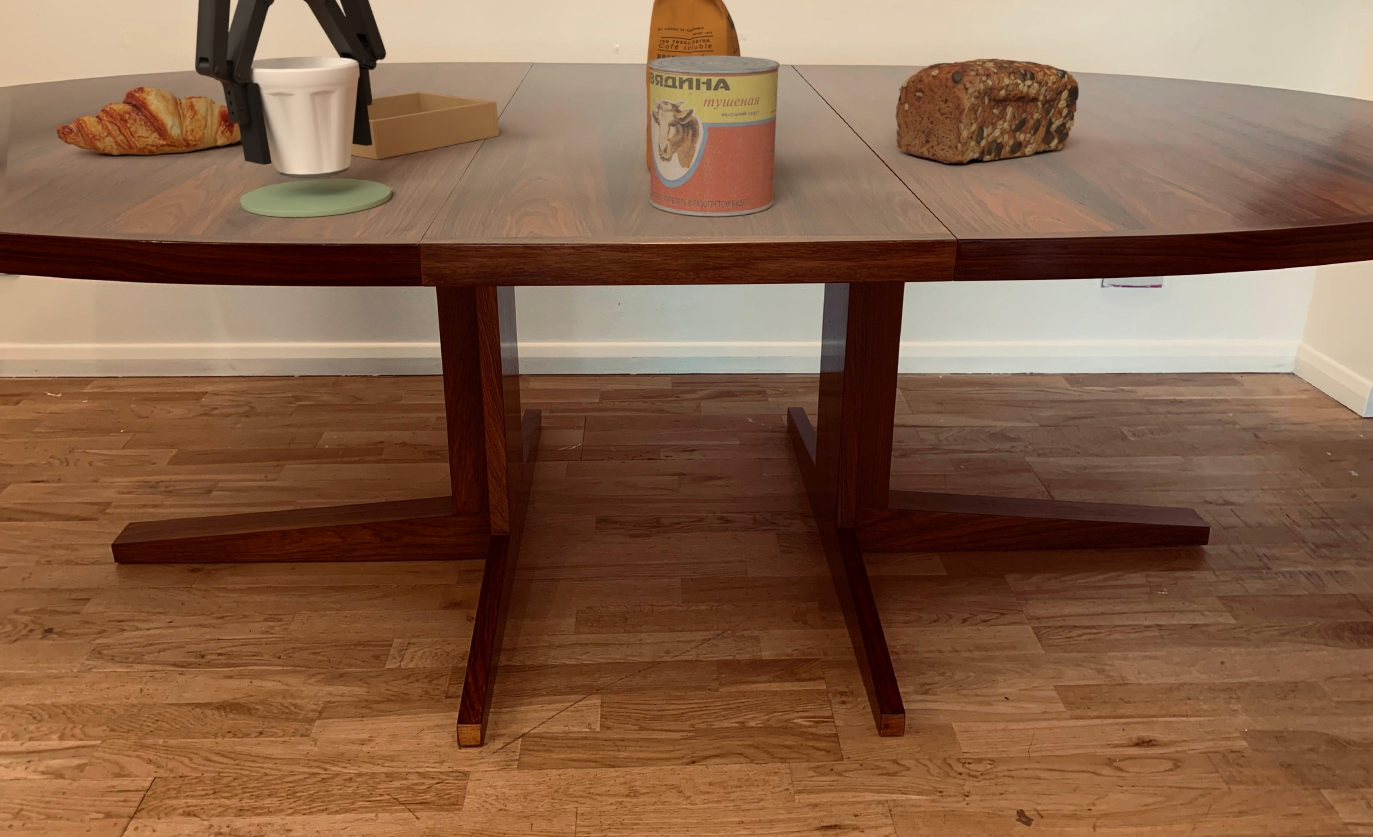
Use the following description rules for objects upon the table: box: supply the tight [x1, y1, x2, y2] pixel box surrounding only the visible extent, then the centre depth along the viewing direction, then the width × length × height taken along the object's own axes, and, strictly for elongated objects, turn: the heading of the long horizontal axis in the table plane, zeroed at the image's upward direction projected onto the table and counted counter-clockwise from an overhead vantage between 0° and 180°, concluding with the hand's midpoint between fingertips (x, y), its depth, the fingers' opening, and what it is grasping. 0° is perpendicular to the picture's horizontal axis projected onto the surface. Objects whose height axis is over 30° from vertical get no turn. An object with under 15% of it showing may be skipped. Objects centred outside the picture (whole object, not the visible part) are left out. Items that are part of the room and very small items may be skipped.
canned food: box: [648, 56, 780, 217], centre depth 90 cm, size 11×11×12 cm
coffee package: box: [645, 0, 742, 170], centre depth 103 cm, size 10×12×22 cm
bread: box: [894, 57, 1080, 165], centre depth 112 cm, size 19×11×10 cm, turn 123°
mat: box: [239, 178, 393, 218], centre depth 92 cm, size 13×13×1 cm
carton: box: [351, 91, 500, 161], centre depth 118 cm, size 14×18×4 cm
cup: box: [246, 56, 360, 179], centre depth 89 cm, size 10×10×9 cm
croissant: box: [55, 86, 241, 156], centre depth 112 cm, size 21×10×8 cm, turn 120°
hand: (311, 152), depth 90 cm, fingers closed on cup, 10 cm apart
